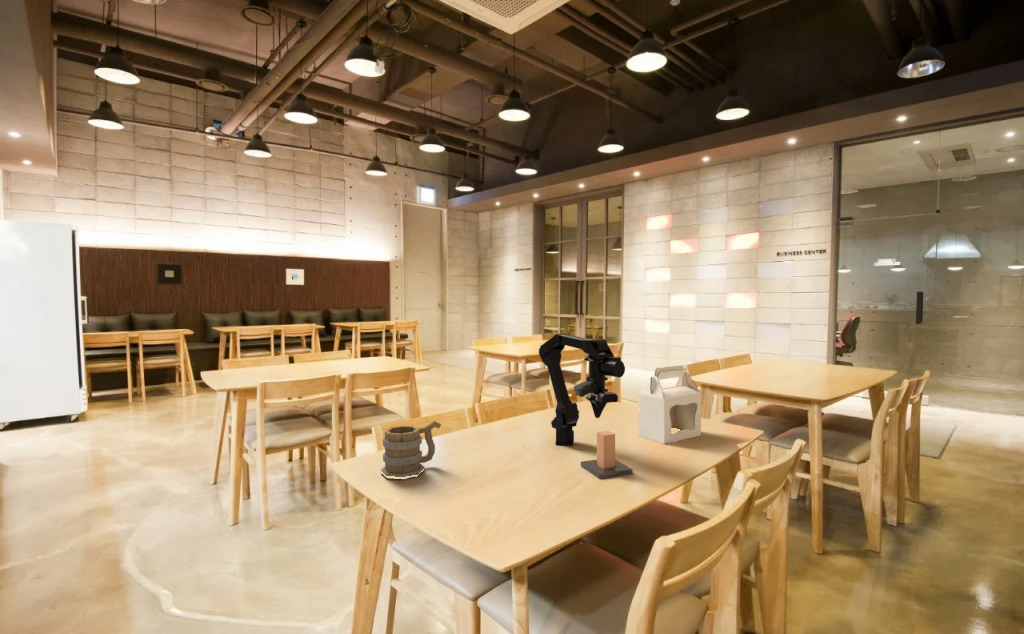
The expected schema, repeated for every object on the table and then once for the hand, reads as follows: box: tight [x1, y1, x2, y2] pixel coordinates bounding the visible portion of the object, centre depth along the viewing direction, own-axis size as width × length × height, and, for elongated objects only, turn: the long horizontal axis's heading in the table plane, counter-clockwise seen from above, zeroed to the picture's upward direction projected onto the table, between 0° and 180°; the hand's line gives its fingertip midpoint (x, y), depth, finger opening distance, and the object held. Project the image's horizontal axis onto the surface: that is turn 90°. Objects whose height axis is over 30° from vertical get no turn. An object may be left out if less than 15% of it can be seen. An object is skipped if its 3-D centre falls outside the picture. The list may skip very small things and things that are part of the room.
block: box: [596, 430, 616, 469], centre depth 154 cm, size 4×4×12 cm
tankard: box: [380, 420, 442, 477], centre depth 155 cm, size 20×13×15 cm, turn 123°
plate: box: [580, 458, 633, 480], centre depth 154 cm, size 12×12×2 cm
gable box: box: [638, 365, 702, 445], centre depth 192 cm, size 22×13×28 cm, turn 122°
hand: (597, 417), depth 170 cm, fingers closed
